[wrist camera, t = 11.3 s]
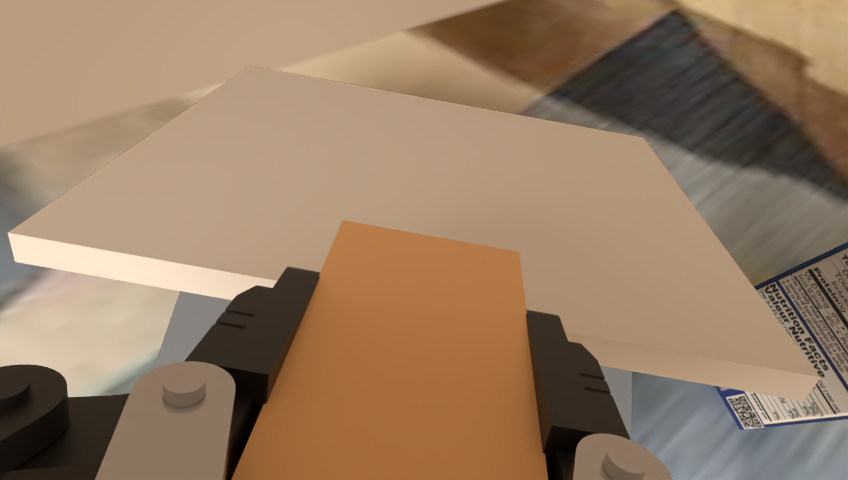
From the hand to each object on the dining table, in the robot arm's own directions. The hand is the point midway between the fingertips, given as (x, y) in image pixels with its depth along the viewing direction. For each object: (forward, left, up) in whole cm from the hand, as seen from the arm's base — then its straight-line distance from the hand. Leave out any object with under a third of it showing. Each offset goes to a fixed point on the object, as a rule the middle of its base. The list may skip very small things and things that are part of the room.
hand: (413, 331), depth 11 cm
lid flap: (0, +4, -5) cm, 6 cm away
